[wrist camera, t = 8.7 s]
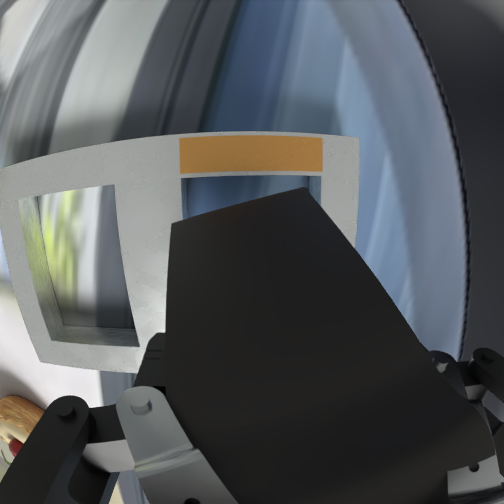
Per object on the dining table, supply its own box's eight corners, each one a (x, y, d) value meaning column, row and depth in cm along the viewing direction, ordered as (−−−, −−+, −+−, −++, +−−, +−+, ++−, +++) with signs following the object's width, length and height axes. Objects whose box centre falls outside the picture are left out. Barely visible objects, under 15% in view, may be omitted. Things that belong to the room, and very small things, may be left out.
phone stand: (172, 220, 12) (3, 500, 1) (303, 186, 12) (596, 305, 1) (228, 373, 15) (252, 583, 4) (329, 345, 15) (431, 526, 4)
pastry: (89, 448, 26) (77, 499, 17) (35, 441, 25) (20, 482, 16) (37, 388, 21) (9, 444, 13) (-12, 385, 21) (-38, 427, 12)
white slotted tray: (342, 140, 18) (360, 137, 15) (328, 343, 22) (339, 362, 20) (14, 168, 15) (-7, 170, 13) (51, 346, 20) (39, 363, 17)
